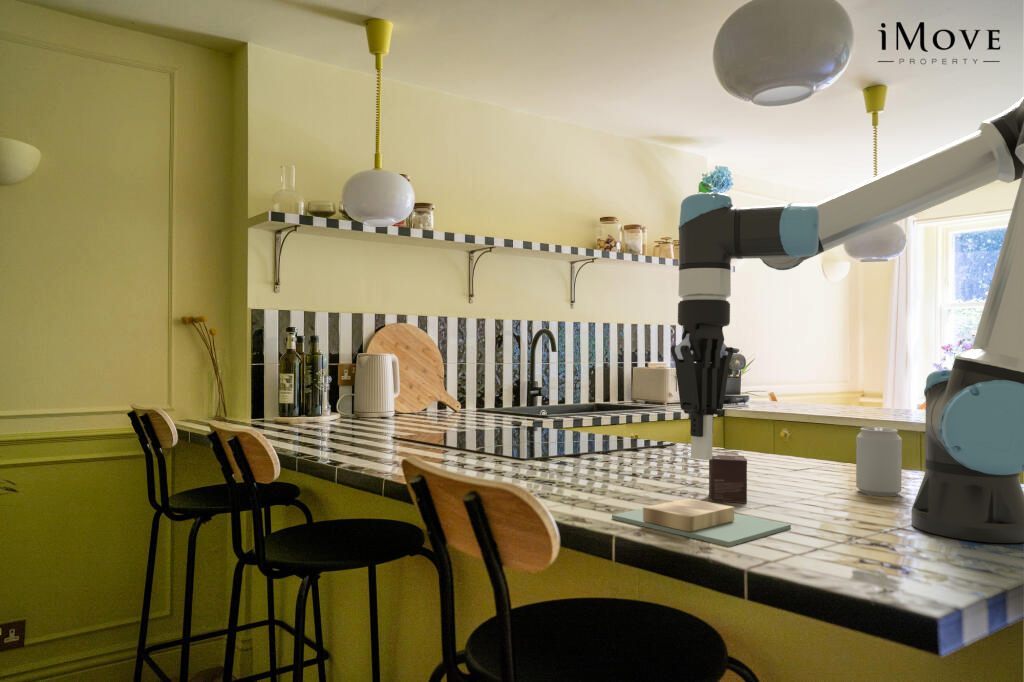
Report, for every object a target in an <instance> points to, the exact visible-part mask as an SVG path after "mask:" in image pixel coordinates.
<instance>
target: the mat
mask: <svg viewBox="0 0 1024 682" xmlns="http://www.w3.org/2000/svg"><path fill="white" fill-rule="evenodd" d="M611 519H612V520H615V521H620V522H624V523H628V524H632V525H635V526H640V527H646V528H649V529H653V530H657V531H660V532H661V531H662V532H667V533H669V534H673V535H674V534H675V535H679V536H683V537H688V538H691V539H696V540H700V541H705V542H708V543H713V544H715V545H716V544H717V545H720V546H725V547H732V546H736V544H737V545H740V544H742V543H747V542H749V541H753V540H757V539H760V538H763V537H767V536H772V535H774V534H777V533H782V532H784V531H788V530H791V529H792V524H790V523H784V522H778V521H774V520H769V519H765V518H759V517H754V516H749V515H743V514H740V513H739V514H738V513H735V512H734V521H731V522H727V523H723V524H719V525H715V526H711V527H707V528H703V529H699V530H695V531H691V532H687V531H682V530H678V529H674V528H669V527H665V526H661V525H656V524H652V523H648V522H644V521H643V508H639V509H634V510H630V511H624V512H620V513H619V512H618V513H615V514H612V515H611Z"/></svg>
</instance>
